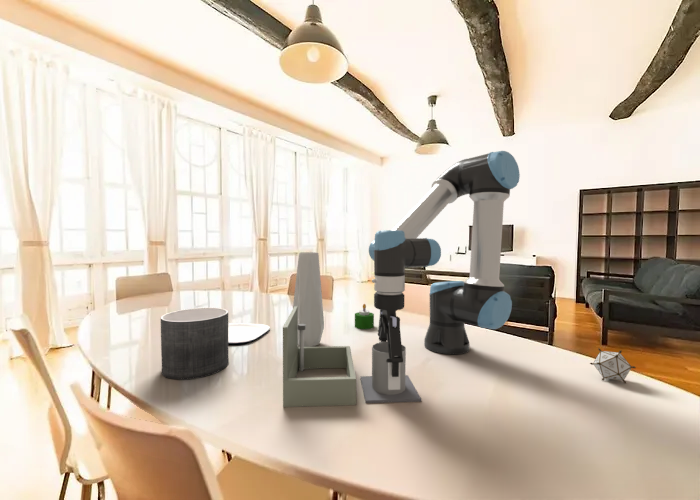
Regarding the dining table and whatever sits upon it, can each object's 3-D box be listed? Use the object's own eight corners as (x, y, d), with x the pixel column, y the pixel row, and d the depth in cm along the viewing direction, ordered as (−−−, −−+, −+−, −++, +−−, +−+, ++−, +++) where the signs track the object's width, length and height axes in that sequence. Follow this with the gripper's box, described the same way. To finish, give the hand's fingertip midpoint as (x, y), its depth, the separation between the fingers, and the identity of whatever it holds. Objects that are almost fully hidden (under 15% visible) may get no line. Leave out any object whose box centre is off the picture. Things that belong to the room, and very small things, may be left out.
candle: (353, 328, 135) (353, 305, 134) (356, 323, 143) (356, 301, 142) (372, 329, 133) (372, 306, 133) (374, 324, 141) (374, 302, 141)
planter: (241, 361, 98) (241, 310, 98) (191, 385, 82) (190, 324, 82) (200, 352, 106) (200, 305, 105) (147, 373, 90) (146, 317, 89)
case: (350, 366, 95) (350, 305, 94) (355, 404, 72) (356, 326, 72) (294, 367, 94) (294, 306, 93) (283, 407, 71) (282, 327, 71)
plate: (220, 325, 140) (220, 322, 140) (275, 328, 137) (275, 324, 137) (182, 344, 115) (182, 339, 115) (249, 348, 112) (248, 343, 112)
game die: (613, 391, 87) (632, 361, 88) (628, 393, 80) (649, 360, 80) (578, 369, 91) (597, 340, 92) (589, 369, 83) (609, 338, 84)
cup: (404, 396, 75) (405, 354, 75) (370, 392, 77) (370, 351, 77) (405, 380, 84) (405, 343, 83) (374, 378, 85) (374, 341, 85)
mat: (407, 377, 87) (407, 375, 87) (421, 401, 74) (421, 398, 74) (360, 378, 86) (360, 376, 86) (365, 403, 73) (365, 400, 73)
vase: (332, 345, 113) (332, 252, 112) (302, 352, 106) (302, 253, 105) (316, 337, 123) (316, 251, 122) (288, 342, 117) (287, 252, 115)
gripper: (368, 285, 92) (368, 358, 92) (382, 302, 67) (381, 401, 67) (394, 285, 92) (393, 357, 93) (417, 301, 67) (416, 400, 68)
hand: (388, 376), depth 80 cm, fingers open, 13 cm apart
